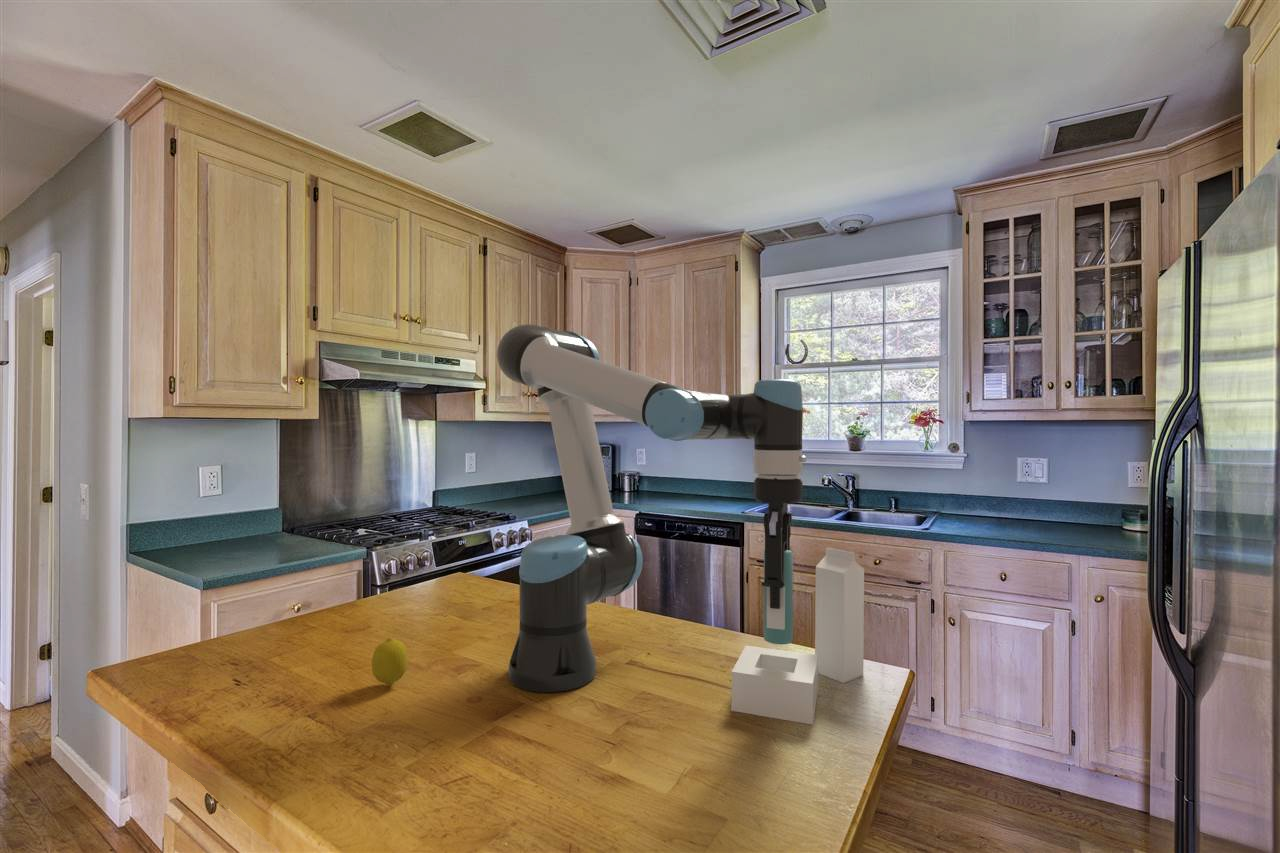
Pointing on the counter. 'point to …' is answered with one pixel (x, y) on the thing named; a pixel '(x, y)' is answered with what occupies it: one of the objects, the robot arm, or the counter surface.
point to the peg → (787, 634)
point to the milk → (839, 616)
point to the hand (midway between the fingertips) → (777, 622)
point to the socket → (775, 684)
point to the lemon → (389, 661)
